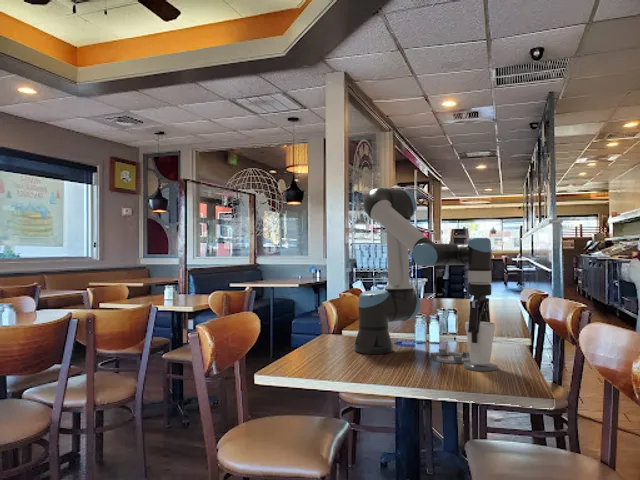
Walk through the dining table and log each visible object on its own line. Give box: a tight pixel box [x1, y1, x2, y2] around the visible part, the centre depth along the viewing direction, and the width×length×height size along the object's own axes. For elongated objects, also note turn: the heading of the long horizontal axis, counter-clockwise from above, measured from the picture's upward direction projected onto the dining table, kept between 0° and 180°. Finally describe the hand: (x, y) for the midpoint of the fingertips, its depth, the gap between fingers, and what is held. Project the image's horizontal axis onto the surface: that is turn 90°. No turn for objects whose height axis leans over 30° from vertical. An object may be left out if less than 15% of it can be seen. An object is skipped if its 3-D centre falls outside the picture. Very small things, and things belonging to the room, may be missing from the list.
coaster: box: [462, 361, 499, 373], centre depth 164 cm, size 11×11×1 cm
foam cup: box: [464, 321, 496, 364], centre depth 165 cm, size 10×9×13 cm
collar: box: [428, 348, 471, 364], centre depth 178 cm, size 14×14×2 cm
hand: (480, 349), depth 165 cm, fingers closed on foam cup, 9 cm apart
